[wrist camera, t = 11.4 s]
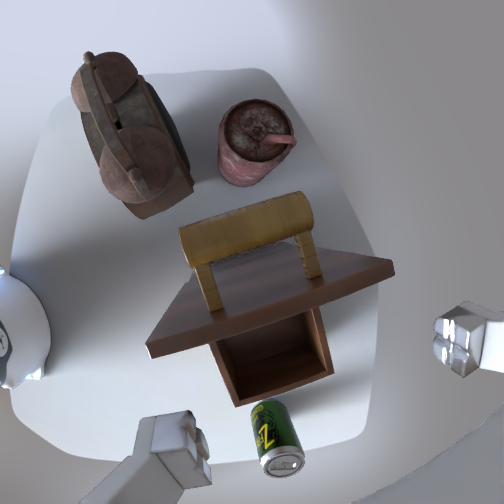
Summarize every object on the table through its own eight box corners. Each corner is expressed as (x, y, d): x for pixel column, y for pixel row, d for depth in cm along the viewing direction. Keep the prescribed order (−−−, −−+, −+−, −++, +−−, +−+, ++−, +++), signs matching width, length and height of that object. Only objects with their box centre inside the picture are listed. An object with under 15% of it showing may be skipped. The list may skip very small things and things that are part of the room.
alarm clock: (208, 195, 35) (199, 164, 16) (155, 223, 35) (89, 226, 15) (161, 98, 33) (120, 3, 14) (111, 125, 33) (34, 54, 13)
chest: (311, 344, 39) (334, 373, 30) (230, 371, 38) (235, 407, 29) (283, 241, 37) (303, 248, 28) (193, 270, 36) (186, 286, 27)
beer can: (290, 399, 40) (313, 452, 28) (279, 426, 40) (297, 479, 28) (255, 394, 39) (269, 449, 27) (245, 422, 39) (255, 477, 27)
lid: (396, 275, 13) (368, 169, 12) (151, 359, 12) (109, 249, 11) (305, 252, 28) (290, 201, 27) (187, 291, 27) (170, 239, 27)
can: (267, 189, 36) (298, 171, 22) (215, 185, 35) (215, 163, 22) (271, 142, 36) (301, 100, 22) (220, 137, 35) (222, 91, 21)
